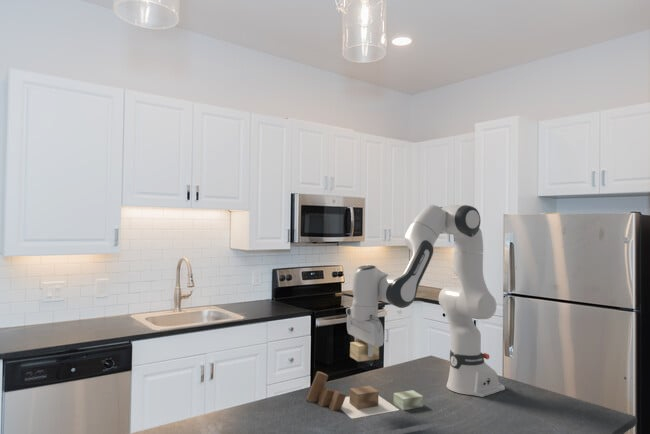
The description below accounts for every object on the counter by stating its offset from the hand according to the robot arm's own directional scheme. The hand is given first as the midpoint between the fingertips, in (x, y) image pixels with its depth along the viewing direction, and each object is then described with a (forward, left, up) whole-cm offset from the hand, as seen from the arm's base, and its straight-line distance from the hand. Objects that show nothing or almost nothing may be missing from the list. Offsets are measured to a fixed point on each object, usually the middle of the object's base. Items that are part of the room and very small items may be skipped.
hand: (364, 353), depth 154 cm
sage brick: (-14, +6, -19) cm, 24 cm away
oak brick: (0, 0, -2) cm, 2 cm away
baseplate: (0, 0, -19) cm, 19 cm away
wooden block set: (+12, -8, -19) cm, 24 cm away
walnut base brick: (0, 0, -18) cm, 18 cm away
